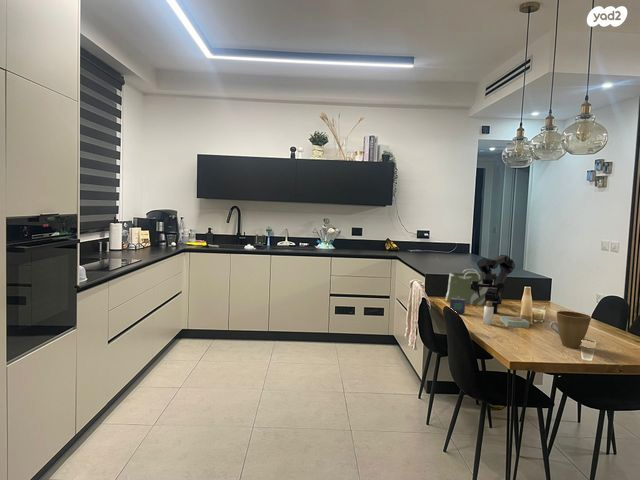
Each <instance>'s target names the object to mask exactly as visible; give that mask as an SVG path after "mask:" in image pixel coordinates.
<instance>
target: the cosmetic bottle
mask: <svg viewBox="0 0 640 480" xmlns="http://www.w3.org/2000/svg"><path fill="white" fill-rule="evenodd" d="M483 306H484V305H483ZM493 310H494V307H493V306H492V301H487V303H486V306H484V307H483V318H482V324H483V325H486V326H492V325H493V323H494V322H493V319H494V313H493Z"/></svg>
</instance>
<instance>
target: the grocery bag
mask: <svg viewBox="0 0 640 480" xmlns="http://www.w3.org/2000/svg"><path fill="white" fill-rule="evenodd" d="M466 271H467V272H466ZM471 281H478V283H481V284H482V272H481V273H480V272H478V270H477V269H475V268H465V269H463V271H462V272H449V276H448V284H447V292H446V294H445V298H444V299H445V302H446V303H450V299H451V298H454V299H456V298H457V297H458V296H459V298H460V299H465V300H466V301H465V305H470V306H486V303H487V302H485V293H486V291H487V290H488V288H485V287H479V291H480V298H479V297H478V295H477V293H476V292H475V291H473V289H470V286H471ZM494 283H495V281H494V280H493V283H492V285H494Z"/></svg>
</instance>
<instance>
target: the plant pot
mask: <svg viewBox="0 0 640 480" xmlns="http://www.w3.org/2000/svg"><path fill="white" fill-rule="evenodd" d="M591 319H592V316H591V315H589V314H586V313H583V312H577V311H567V310H558V311H556V323H557V324H558V330H559V335H560V336H559V335H558V336H559V338H560V342H561V345H562V346H563V347H565V346H566V348H569V347H570V348H571V349H579V348H580V347H581V345H582V344H581V340H582V339H585V337H586V335H587V333H588V330H589V327H590V322H591V321H592V320H591ZM570 348H569V349H570Z"/></svg>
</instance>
